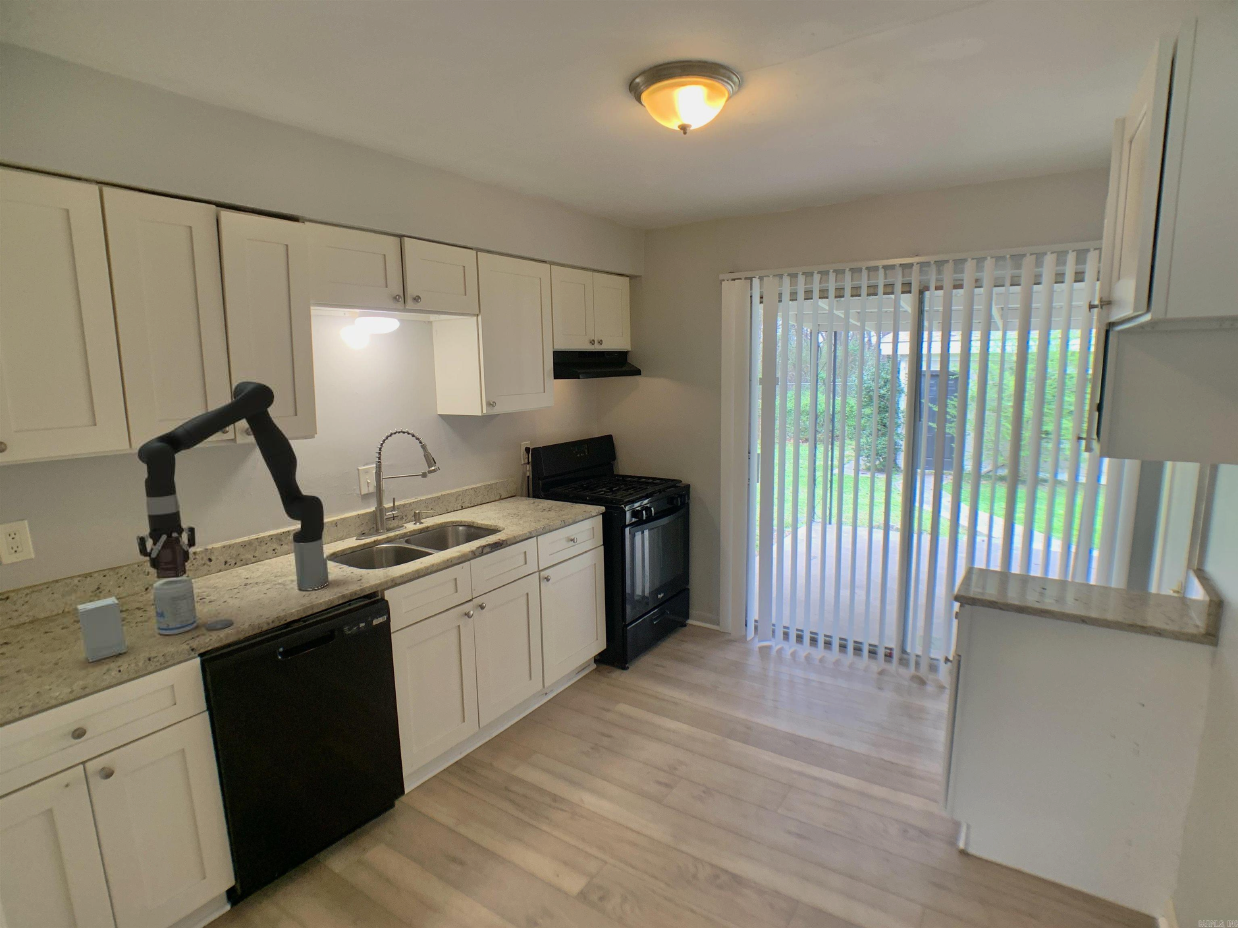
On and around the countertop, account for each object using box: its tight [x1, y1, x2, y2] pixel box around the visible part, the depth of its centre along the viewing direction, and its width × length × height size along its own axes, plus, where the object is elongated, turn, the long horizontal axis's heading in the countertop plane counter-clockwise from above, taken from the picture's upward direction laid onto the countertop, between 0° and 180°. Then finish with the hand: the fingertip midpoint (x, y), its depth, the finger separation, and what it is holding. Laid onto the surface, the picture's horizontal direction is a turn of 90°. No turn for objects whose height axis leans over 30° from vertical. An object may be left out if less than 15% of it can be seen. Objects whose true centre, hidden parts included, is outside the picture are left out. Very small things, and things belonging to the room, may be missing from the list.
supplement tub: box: [152, 576, 198, 636], centre depth 180 cm, size 10×10×15 cm
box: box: [151, 534, 187, 580], centre depth 178 cm, size 6×4×12 cm
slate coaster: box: [205, 618, 234, 632], centre depth 183 cm, size 7×7×1 cm
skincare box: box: [76, 596, 128, 663], centre depth 164 cm, size 8×6×15 cm
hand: (170, 565), depth 178 cm, fingers closed on box, 7 cm apart
